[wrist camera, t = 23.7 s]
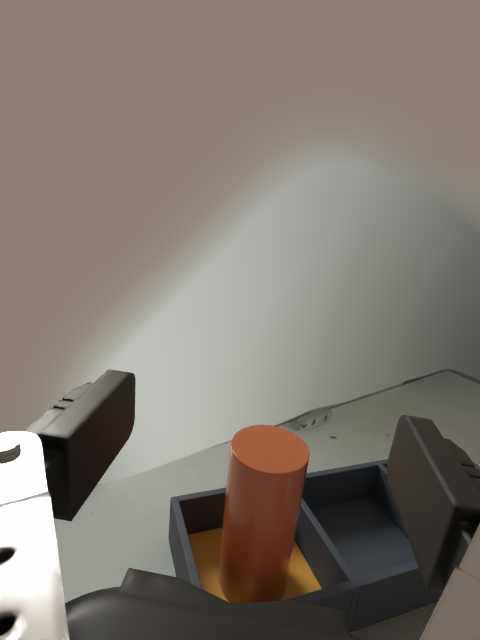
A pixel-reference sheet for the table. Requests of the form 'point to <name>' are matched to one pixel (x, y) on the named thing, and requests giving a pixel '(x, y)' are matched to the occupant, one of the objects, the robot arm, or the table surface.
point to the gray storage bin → (320, 545)
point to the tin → (261, 513)
